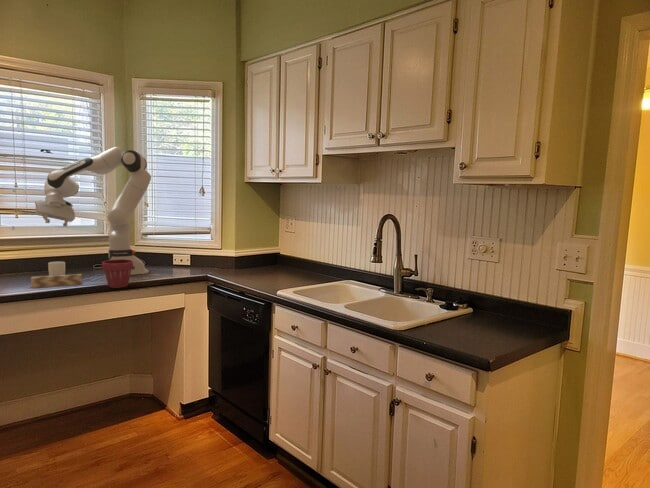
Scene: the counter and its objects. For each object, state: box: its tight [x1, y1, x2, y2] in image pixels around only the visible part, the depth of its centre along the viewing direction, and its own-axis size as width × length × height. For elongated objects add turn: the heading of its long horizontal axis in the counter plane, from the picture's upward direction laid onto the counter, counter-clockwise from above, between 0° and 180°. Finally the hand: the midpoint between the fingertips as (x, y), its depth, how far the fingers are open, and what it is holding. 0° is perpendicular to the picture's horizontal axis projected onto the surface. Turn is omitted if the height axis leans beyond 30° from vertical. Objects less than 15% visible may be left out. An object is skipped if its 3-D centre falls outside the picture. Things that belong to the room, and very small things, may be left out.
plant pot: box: [101, 259, 133, 289], centre depth 237 cm, size 14×14×13 cm
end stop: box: [30, 273, 83, 289], centre depth 235 cm, size 22×5×5 cm, turn 120°
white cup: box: [47, 261, 66, 276], centre depth 245 cm, size 8×8×10 cm
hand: (56, 224), depth 257 cm, fingers open, 8 cm apart
